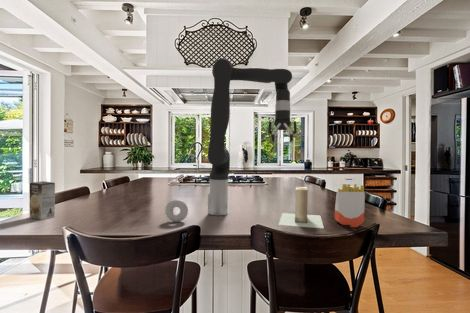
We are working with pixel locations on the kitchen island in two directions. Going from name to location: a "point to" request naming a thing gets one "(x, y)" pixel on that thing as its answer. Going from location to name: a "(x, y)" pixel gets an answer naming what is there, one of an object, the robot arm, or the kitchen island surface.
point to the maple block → (301, 204)
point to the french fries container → (350, 205)
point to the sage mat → (312, 222)
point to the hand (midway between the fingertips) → (282, 142)
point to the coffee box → (42, 200)
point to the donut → (179, 204)
